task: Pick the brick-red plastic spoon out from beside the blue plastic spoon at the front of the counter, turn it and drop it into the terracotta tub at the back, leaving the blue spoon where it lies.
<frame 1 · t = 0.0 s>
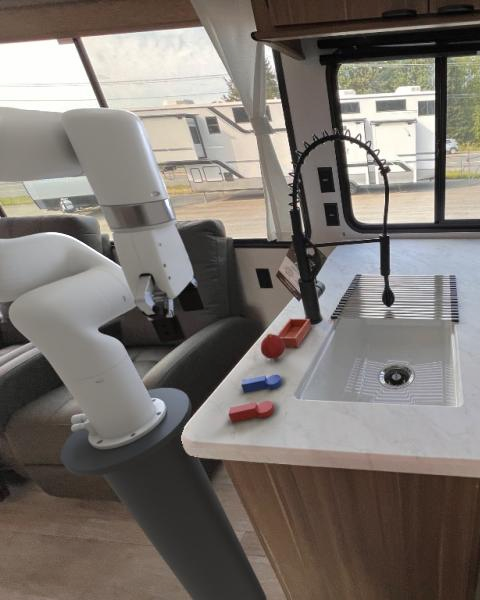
hand: (185, 323, 50), 25 cm above the countertop, tool pointing down, fingers open, 9 cm apart
blue spoon: (263, 386, 72), on the countertop
red tub: (294, 336, 91), on the countertop
onion: (276, 359, 82), on the countertop
red spoon: (253, 414, 65), on the countertop
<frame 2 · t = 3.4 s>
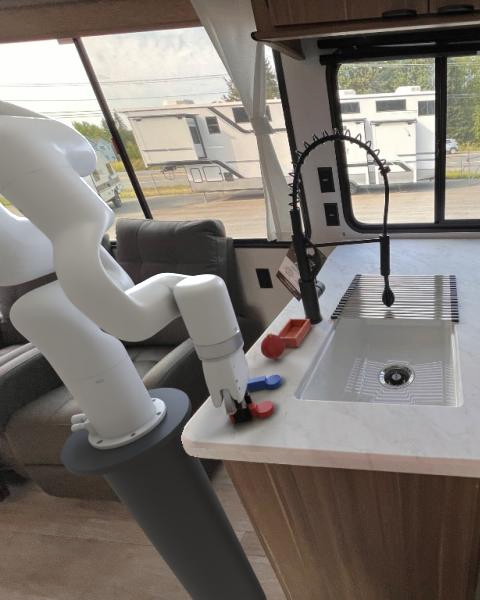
hand: (245, 415, 64), 0 cm above the countertop, tool pointing down, fingers closed on red spoon, 1 cm apart
red spoon: (253, 414, 65), on the countertop, touching gripper
everything else where it was.
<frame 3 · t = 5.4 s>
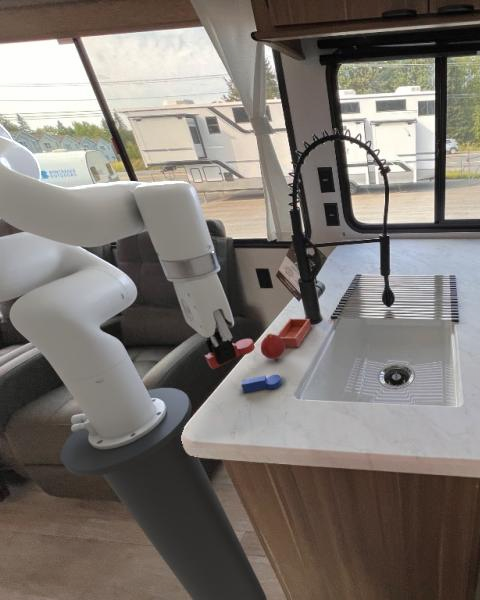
hand: (224, 357, 58), 15 cm above the countertop, tool pointing down, fingers closed on red spoon
red spoon: (233, 356, 59), point 14 cm above the countertop, touching gripper
everything else where it was.
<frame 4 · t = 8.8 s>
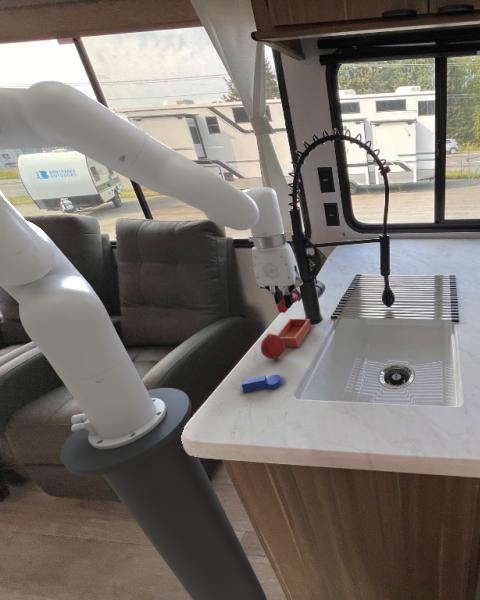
hand: (285, 305, 85), 11 cm above the countertop, tool pointing down, fingers closed on red spoon
red spoon: (288, 305, 87), point 10 cm above the countertop, touching gripper
everything else where it was.
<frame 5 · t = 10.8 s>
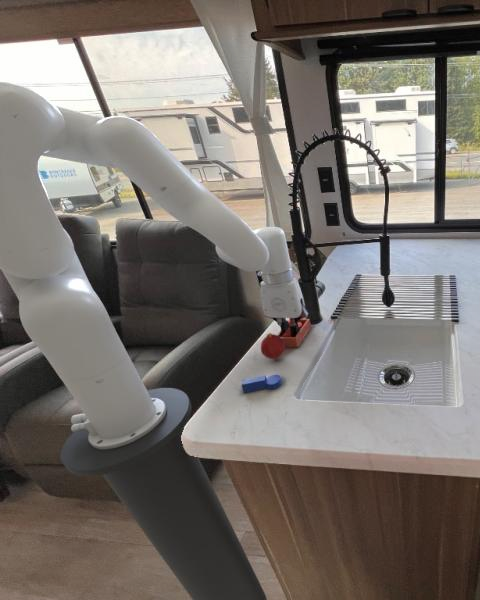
hand: (291, 334, 89), 2 cm above the countertop, tool pointing down, fingers closed on red spoon
red spoon: (293, 333, 91), point 1 cm above the countertop, touching gripper
everything else where it was.
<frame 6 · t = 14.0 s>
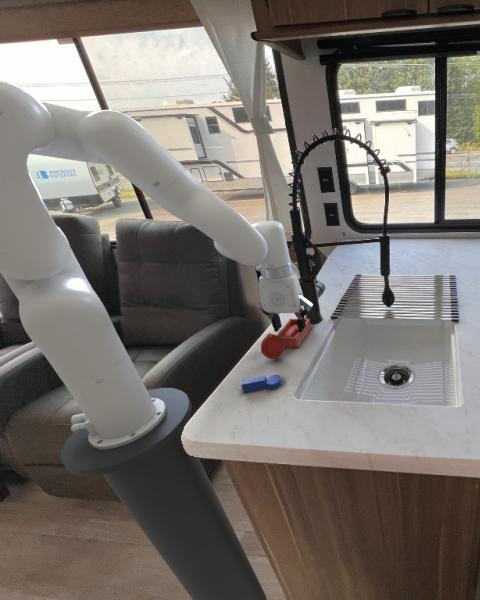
hand: (290, 329, 88), 4 cm above the countertop, tool pointing down, fingers open, 6 cm apart
red spoon: (293, 335, 91), resting on red tub
everything else where it was.
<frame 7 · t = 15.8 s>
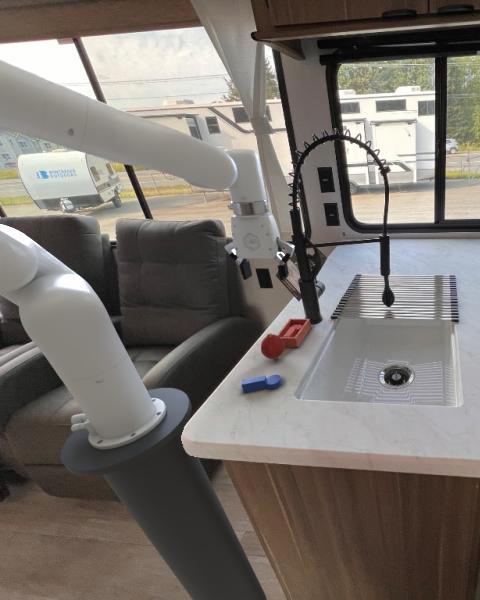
hand: (266, 278, 79), 20 cm above the countertop, tool pointing down, fingers open, 9 cm apart
nothing on the countertop moved.
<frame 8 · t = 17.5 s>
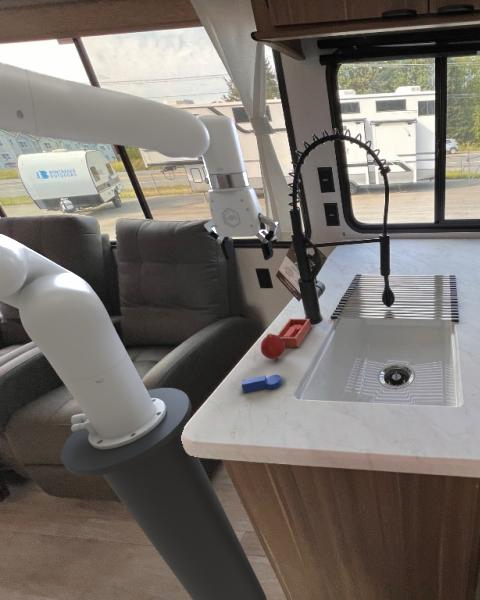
hand: (249, 258, 74), 26 cm above the countertop, tool pointing down, fingers open, 9 cm apart
nothing on the countertop moved.
at the end: red spoon inside the target area in the red tub (0.3 cm from its centre), point 0.5 cm above the red tub's base; blue spoon moved 0.0 cm from its start; the gripper is holding nothing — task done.
